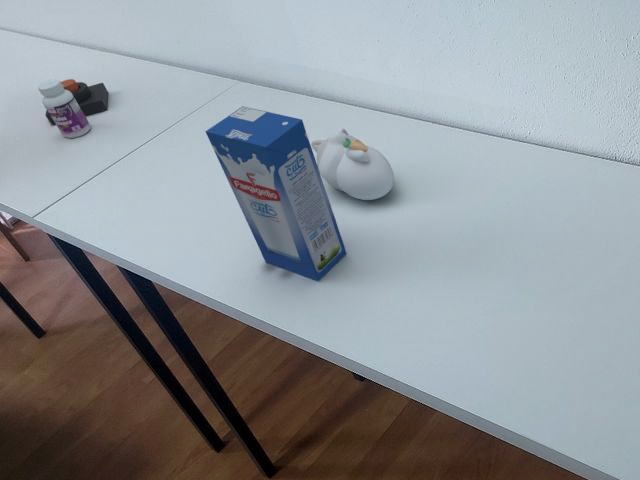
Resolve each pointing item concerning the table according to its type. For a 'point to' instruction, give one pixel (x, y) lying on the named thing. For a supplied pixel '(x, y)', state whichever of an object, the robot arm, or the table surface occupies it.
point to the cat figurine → (353, 166)
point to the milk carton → (279, 190)
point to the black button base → (89, 99)
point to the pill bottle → (64, 109)
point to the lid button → (70, 85)
